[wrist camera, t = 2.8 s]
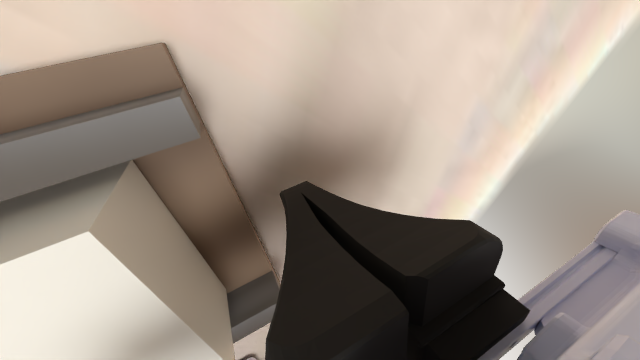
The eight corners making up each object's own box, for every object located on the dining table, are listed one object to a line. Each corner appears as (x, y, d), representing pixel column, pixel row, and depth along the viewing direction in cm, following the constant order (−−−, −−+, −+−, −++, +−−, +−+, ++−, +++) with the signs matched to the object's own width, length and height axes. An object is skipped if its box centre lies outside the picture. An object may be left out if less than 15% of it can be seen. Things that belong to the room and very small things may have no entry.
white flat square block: (226, 289, 12) (236, 371, 9) (36, 384, 10) (-36, 536, 7) (131, 159, 8) (88, 231, 5) (-240, 277, 6) (-783, 559, 3)
